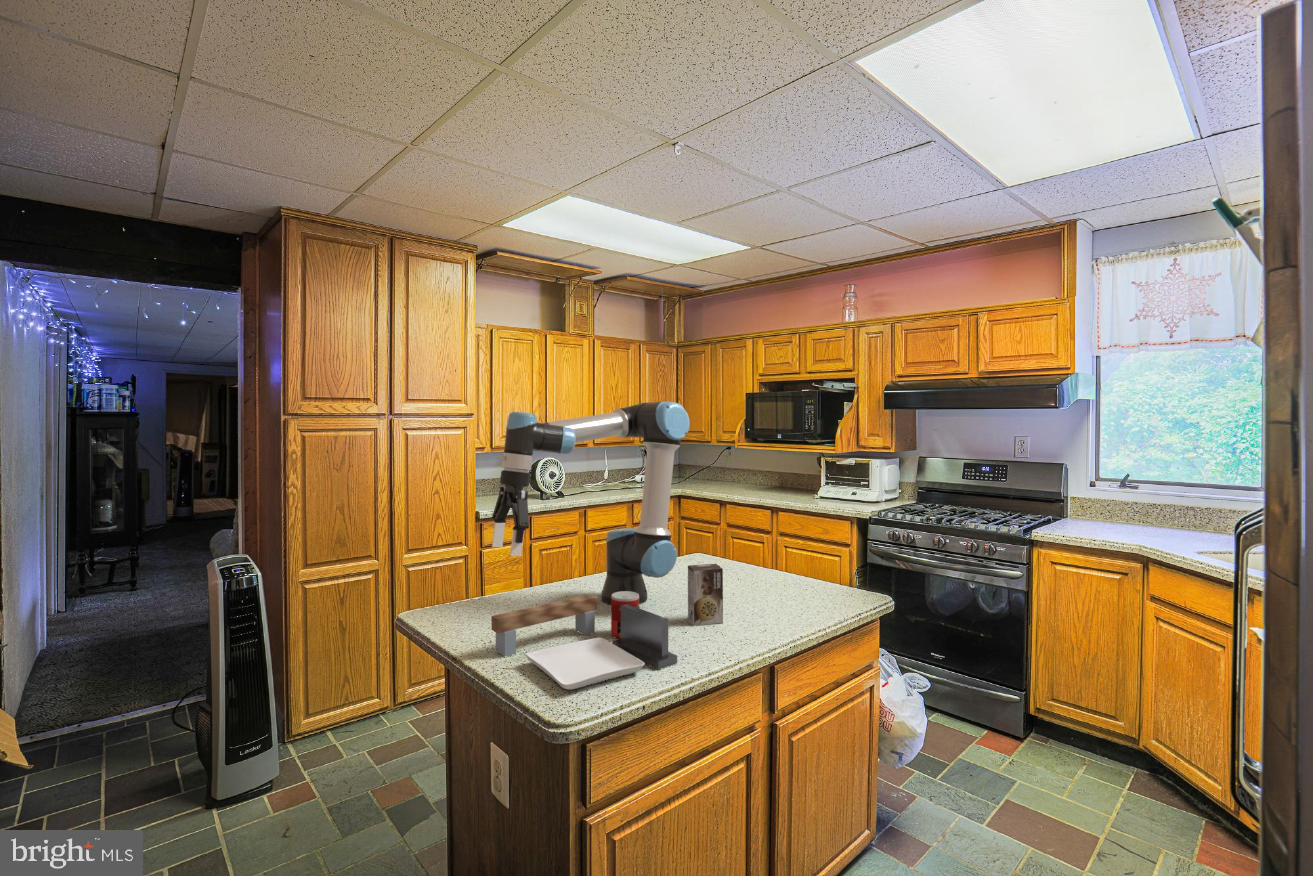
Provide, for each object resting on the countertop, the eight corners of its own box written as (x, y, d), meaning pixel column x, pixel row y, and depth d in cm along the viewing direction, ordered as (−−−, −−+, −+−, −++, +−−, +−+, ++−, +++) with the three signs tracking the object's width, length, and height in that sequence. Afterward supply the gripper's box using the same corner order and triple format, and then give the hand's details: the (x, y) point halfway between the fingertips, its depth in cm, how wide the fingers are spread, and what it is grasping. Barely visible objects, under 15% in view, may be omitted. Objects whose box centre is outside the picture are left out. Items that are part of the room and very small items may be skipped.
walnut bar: (590, 606, 175) (590, 594, 175) (597, 609, 172) (597, 597, 172) (491, 629, 155) (491, 616, 155) (498, 633, 152) (498, 619, 152)
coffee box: (716, 616, 186) (716, 563, 185) (723, 623, 179) (724, 568, 179) (686, 619, 183) (687, 564, 183) (693, 626, 177) (693, 569, 177)
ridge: (630, 643, 163) (630, 601, 163) (677, 663, 149) (677, 618, 149) (612, 648, 159) (612, 606, 159) (658, 670, 145) (658, 623, 145)
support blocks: (584, 628, 174) (584, 607, 174) (594, 633, 171) (594, 611, 171) (495, 651, 157) (495, 627, 157) (505, 657, 153) (505, 633, 153)
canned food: (618, 641, 164) (618, 600, 164) (606, 632, 171) (606, 593, 171) (644, 637, 168) (644, 596, 167) (631, 628, 175) (631, 589, 174)
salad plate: (647, 676, 143) (647, 661, 143) (564, 700, 130) (564, 683, 130) (600, 648, 160) (600, 635, 160) (523, 667, 148) (523, 652, 148)
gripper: (486, 466, 172) (476, 543, 171) (520, 472, 152) (509, 559, 150) (512, 469, 176) (502, 544, 175) (548, 474, 156) (538, 559, 154)
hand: (506, 551), depth 163 cm, fingers open, 13 cm apart
